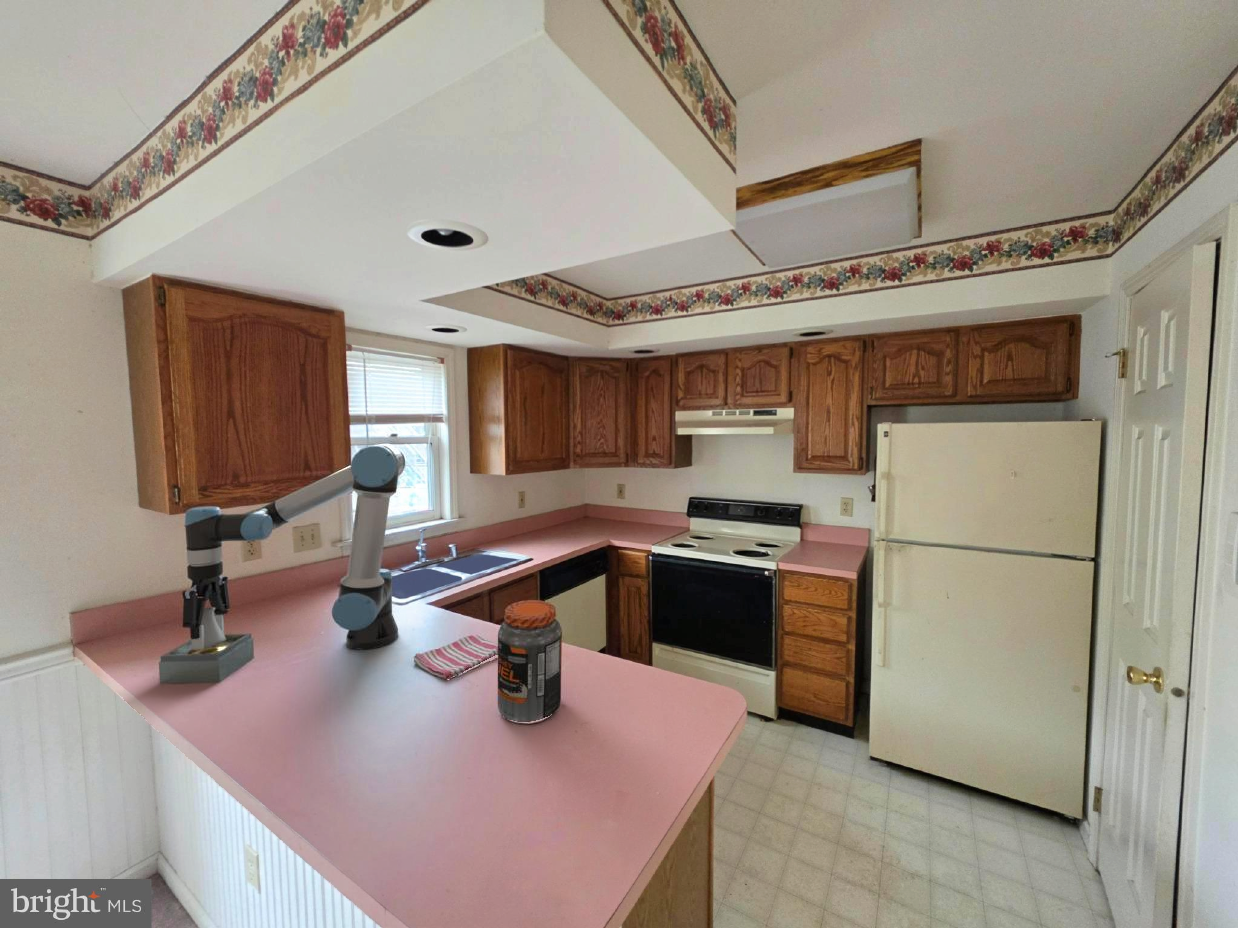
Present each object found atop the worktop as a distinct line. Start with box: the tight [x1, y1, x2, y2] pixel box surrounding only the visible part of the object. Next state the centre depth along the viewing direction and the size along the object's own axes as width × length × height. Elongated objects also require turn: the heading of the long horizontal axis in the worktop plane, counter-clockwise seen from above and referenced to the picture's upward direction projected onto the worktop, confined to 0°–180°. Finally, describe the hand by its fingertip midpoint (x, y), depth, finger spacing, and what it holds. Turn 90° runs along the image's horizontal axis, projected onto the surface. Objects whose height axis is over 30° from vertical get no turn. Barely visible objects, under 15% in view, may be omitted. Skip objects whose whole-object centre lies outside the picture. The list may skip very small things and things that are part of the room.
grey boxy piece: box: [158, 632, 255, 685], centre depth 137 cm, size 15×14×8 cm
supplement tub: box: [497, 599, 563, 722], centre depth 122 cm, size 16×16×26 cm
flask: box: [191, 606, 226, 648], centre depth 137 cm, size 7×7×10 cm
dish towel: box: [413, 634, 498, 680], centre depth 148 cm, size 17×23×4 cm
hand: (208, 642), depth 137 cm, fingers closed on flask, 7 cm apart
